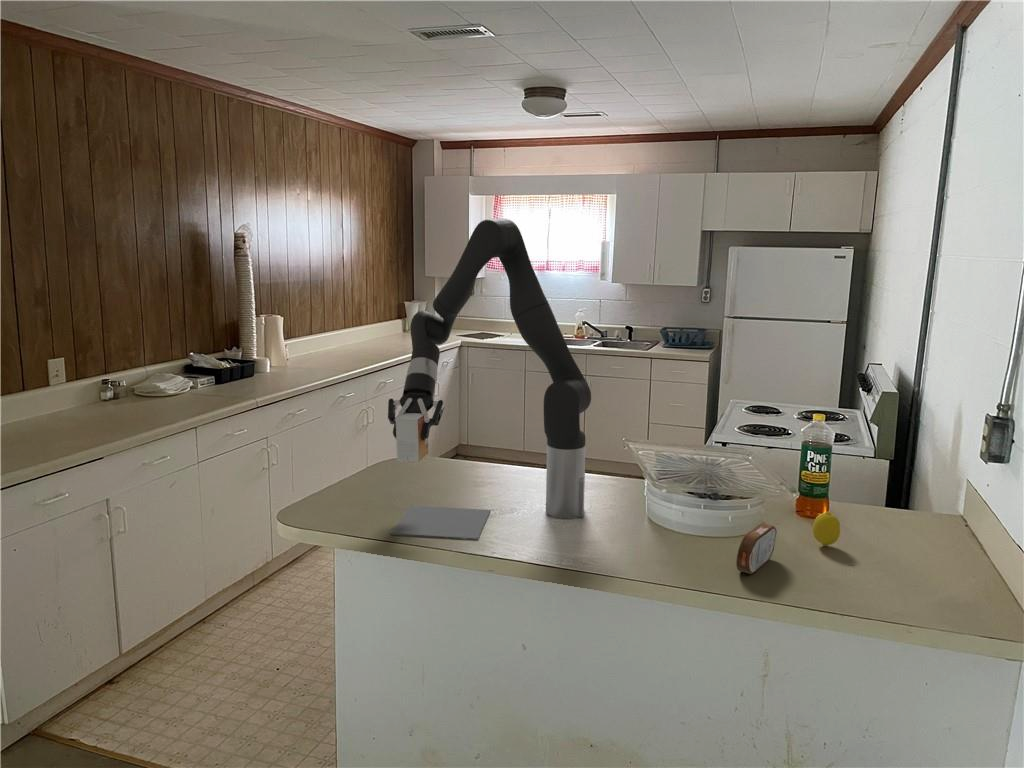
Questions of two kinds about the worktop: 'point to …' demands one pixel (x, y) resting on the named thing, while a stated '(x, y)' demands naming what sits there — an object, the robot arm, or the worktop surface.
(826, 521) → the lemon
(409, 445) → the small box
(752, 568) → the tin
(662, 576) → the worktop surface
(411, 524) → the mat
